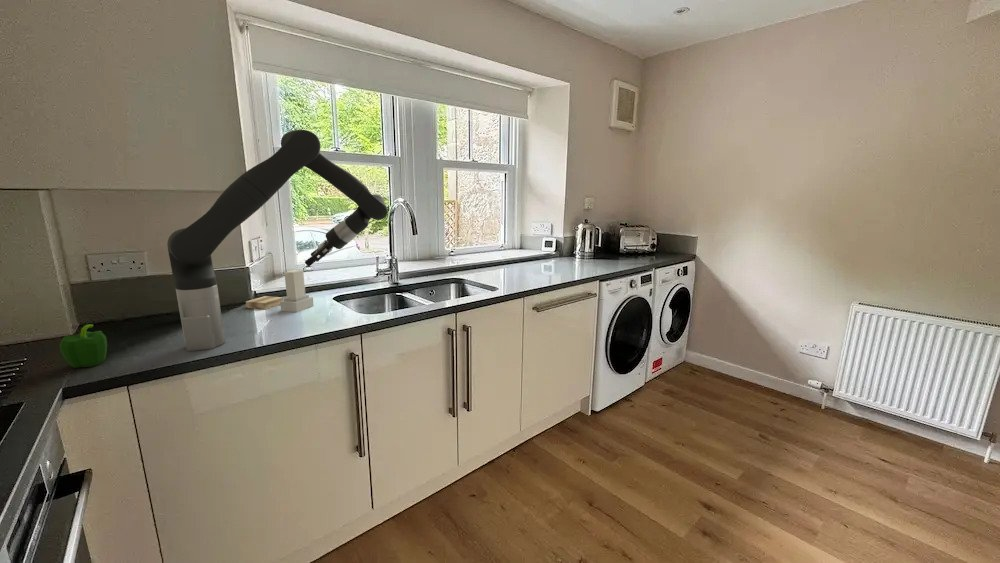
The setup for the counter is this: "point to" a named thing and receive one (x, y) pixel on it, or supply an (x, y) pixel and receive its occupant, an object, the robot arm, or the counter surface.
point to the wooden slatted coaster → (264, 302)
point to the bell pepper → (84, 348)
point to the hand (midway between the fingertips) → (309, 260)
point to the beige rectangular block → (296, 304)
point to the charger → (295, 284)
